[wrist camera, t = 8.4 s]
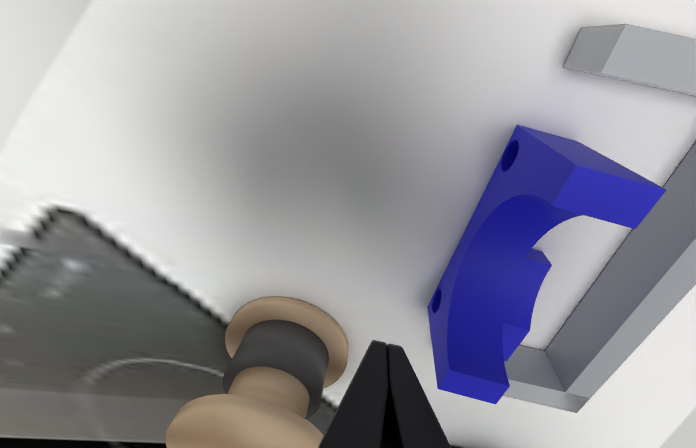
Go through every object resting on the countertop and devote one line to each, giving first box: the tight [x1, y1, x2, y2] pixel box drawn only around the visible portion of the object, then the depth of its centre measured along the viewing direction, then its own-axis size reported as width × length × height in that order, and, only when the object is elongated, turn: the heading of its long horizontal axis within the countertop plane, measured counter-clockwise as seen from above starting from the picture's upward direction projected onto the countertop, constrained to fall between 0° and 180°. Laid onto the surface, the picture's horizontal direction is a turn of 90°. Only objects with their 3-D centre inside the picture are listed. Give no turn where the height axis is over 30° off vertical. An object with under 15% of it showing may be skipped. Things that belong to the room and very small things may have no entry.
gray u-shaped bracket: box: [503, 24, 696, 413], centre depth 17 cm, size 19×8×3 cm, turn 169°
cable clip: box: [427, 125, 666, 404], centre depth 16 cm, size 12×4×6 cm, turn 166°
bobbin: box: [165, 297, 348, 448], centre depth 21 cm, size 9×9×8 cm
